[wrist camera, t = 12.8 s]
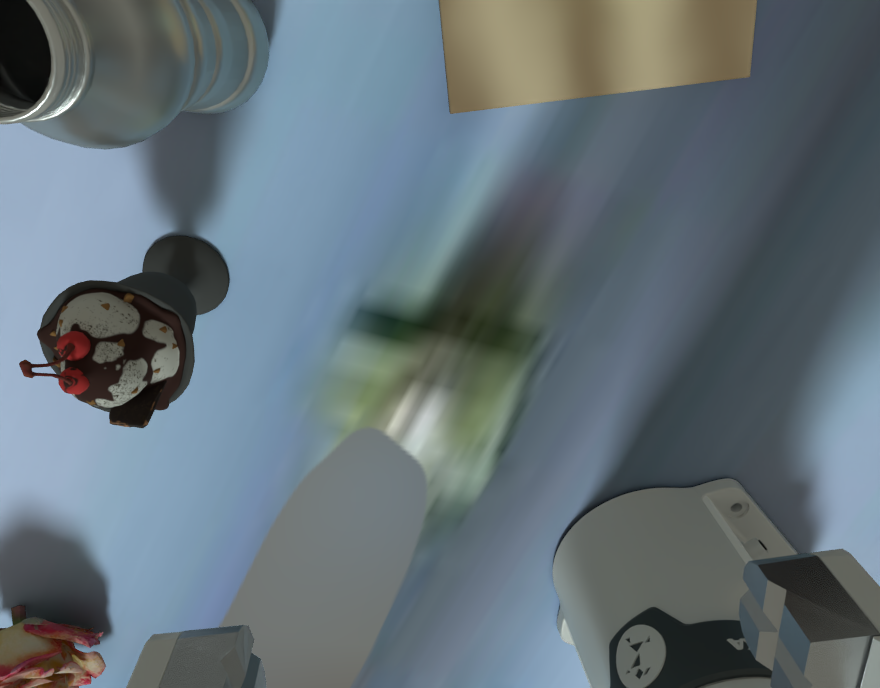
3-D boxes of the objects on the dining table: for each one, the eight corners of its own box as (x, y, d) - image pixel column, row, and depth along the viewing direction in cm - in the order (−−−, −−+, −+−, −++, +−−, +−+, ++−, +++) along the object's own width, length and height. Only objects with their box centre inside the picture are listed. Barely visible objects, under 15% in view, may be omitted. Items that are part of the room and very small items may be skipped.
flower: (-65, 646, 47) (-62, 763, 43) (-43, 588, 42) (-37, 713, 38) (81, 616, 54) (95, 715, 50) (113, 563, 49) (132, 667, 45)
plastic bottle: (245, 133, 35) (74, 236, 17) (122, 60, 33) (-220, 86, 15) (300, 20, 32) (172, -3, 14) (172, -65, 31) (-159, -215, 12)
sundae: (137, 203, 36) (-23, 303, 22) (256, 244, 37) (172, 361, 24) (117, 306, 38) (-37, 451, 25) (229, 340, 40) (140, 496, 26)
